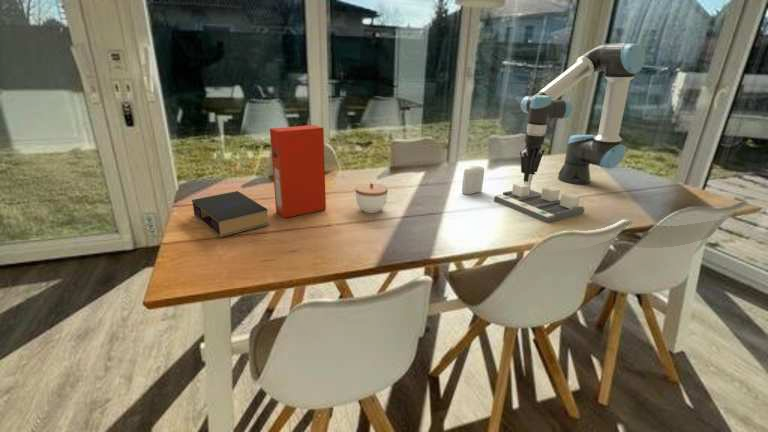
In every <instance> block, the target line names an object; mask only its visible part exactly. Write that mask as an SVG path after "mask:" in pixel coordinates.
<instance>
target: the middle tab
mask: <svg viewBox="0 0 768 432" xmlns="http://www.w3.org/2000/svg"><path fill="white" fill-rule="evenodd" d="M560 194H561V189H559V188H556V187H554V186H547V187H542V189H541V198H542V199H544V200H547V201H550V202H551V201H556V200H560V199H559V198H560Z"/></svg>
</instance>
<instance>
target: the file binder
mask: <svg viewBox="0 0 768 432" xmlns="http://www.w3.org/2000/svg"><path fill="white" fill-rule="evenodd" d="M269 135H270V148H271V159H272V161H271V163H272V173H273V185H274V187H273V188H274V198H275V212H276V213H277V214H278V215H279V216H280V217H282V218H283V219H287V218H291V217H296V216H301V215H305V214H309V213H314V212H320V211H324V210H326V209H327V207H326V206H327V205H326V204H327V203H326V200H327V199H326V173H325V172H326V170H325V169H326V167H325V165H326V163H325V138H324V137H325V136H324V135H325V134H324V127H323V126H319V125H315V124H311V125H309V124H308V125H297V126H287V127H284V126H283V127H275V128H269Z"/></svg>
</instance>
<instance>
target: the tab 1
mask: <svg viewBox="0 0 768 432" xmlns="http://www.w3.org/2000/svg"><path fill="white" fill-rule="evenodd" d="M530 190H531V186H530V185H527V184H524V182H518V183H517V182H516V183H513V184H512V189H511V191H512V194H513V195H516V196H518V197H525V196H529V192H530Z"/></svg>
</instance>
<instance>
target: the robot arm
mask: <svg viewBox="0 0 768 432" xmlns="http://www.w3.org/2000/svg"><path fill="white" fill-rule="evenodd" d="M645 60H646V52H645V50H644V48H643V46H642V45H640V44H639V43H632V42H628V43H627V42H625V43H620V42H619V43H613V42H612V43H610V42H609V43H603V44H602V43H601V44H599V45H596V46H595V47H592V48H591V49H590V50H587V51H586V52H585V53H583V54H582V55H581V56H579V57H578V58H577V59H576V60H575V63H574V64H572V65H571V66H570V67H568V68H567V69H566V70H564V71H563V72H562V73H561V74H559V75H558V76H557V77H556V78H554V79H553V80H551V82H549V83H548V84H547V85H546V86H544V87H543V88H542V89H540V90H539V91H538V92H537V93H536V94H534V95H527V96H526V95H525V96H524V97H523V98H522V100H521V102H520V110H521V111H522V113H525V114H528V118H527V119H528V120H527V127H526V134H525V135H524V136H525V137H524V143H525V147H524V149H523V151H520V152H519V156H520V173H522V174H524V175H523V183H524V184H527V185H530V187H531V185H532V181H533V175H536V173H537V172H538V169H539V167H540V164H541V161H542V158H543V156H544V153H545V152H546V151H545V149H542V145H544V142H545V135H546V132H547V127H548V120H556V119H557V120H558V119H560V120H562V119H566V118H569V117H570V116H571V114H572V113H573V104H572V102H571V101H570V100H567V99H559V98H560V97H561V96H563V94H566V93H567V92H568V91H569V90H570V89H572V88H573V87H574V86H575V85H576V84H578V83H579V82H580V81H581V80H583V79H584V78H586V77H589V76H592V75H593V74H595V73H597V72H598V73H599V72H604V78H605V79H606V80H607V82H606V88H605V94H604V98H603V99H604V100H603V105H602V110H601V114H600V115H601V116H600V122H599V126H598V127H599V128H598V133H597V134H596V135H595V134H573V135H571V136H570V137H569V138H568V142H567V146H566V154H565V157H564V163H563V165H562V166H561V169H560V170H559V172H558V174H557V179H558V180H560V181H562V182H565V183H569V184H574V185H575V184H576V185H580V184H581V185H585V184H589V183H590V182H591V174H590V173H591V172H590V165H594V166H598V167H600V168H604V169H614V168H616V167H617V166H619V164H620V163H621V162H623V159H624V157H625V155H626V147H625V146H624V145H623V144H622V141H623V139H622V138H621V136H620V132H621V127H622V122H623V116H624V112H625V107H626V102H627V97H628V91H629V86H630V82H631V80H633V79H634V78H635V77H636V74H637V73H639V72H640V71H641V70H642V68H643V67H644V65H645Z"/></svg>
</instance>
